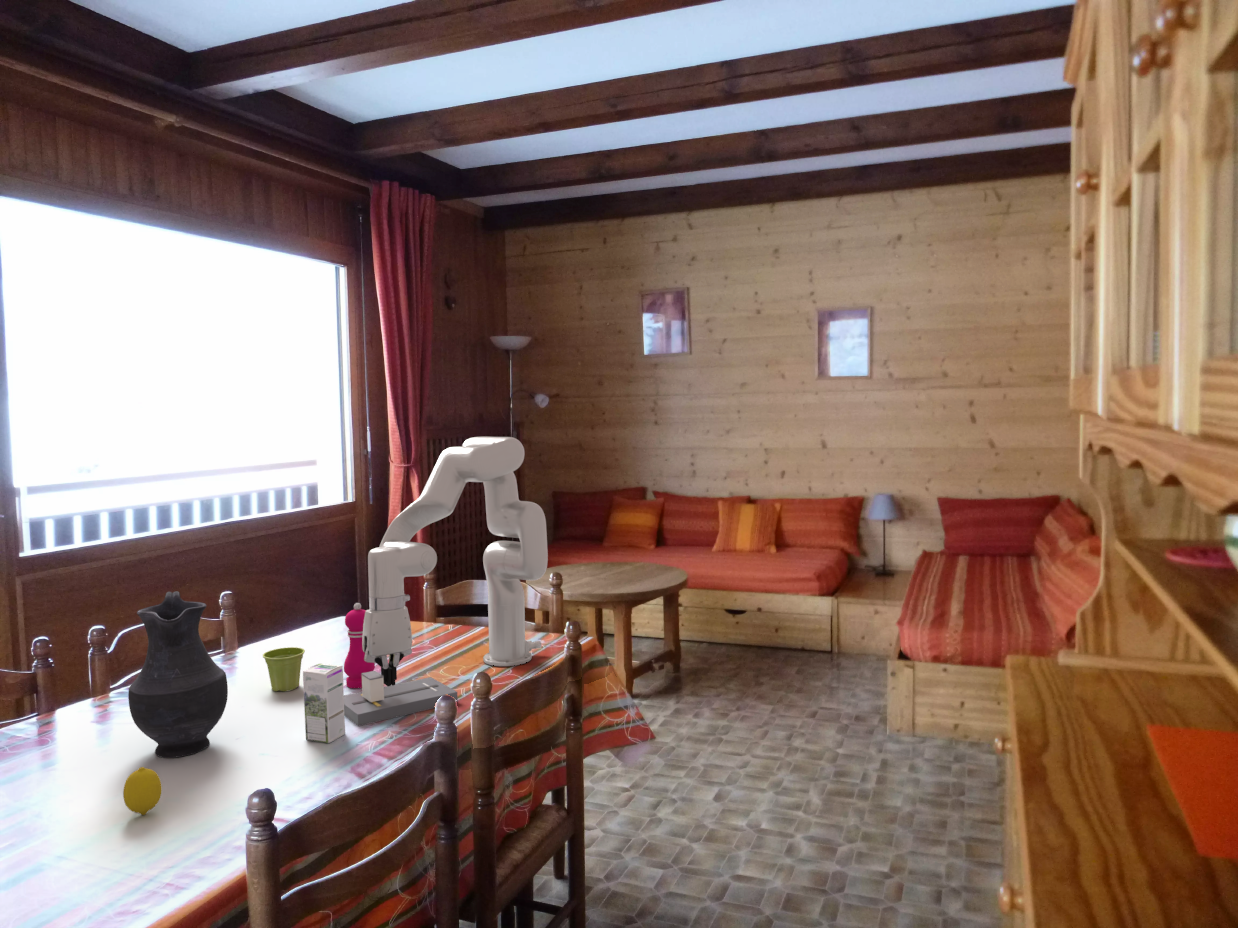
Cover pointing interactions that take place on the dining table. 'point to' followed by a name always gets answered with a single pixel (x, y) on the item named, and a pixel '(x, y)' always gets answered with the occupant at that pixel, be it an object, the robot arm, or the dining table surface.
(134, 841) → the dining table surface
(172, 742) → the pitcher
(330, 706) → the syrup box
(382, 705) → the console
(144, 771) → the lemon
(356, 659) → the pepper mill
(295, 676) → the plant pot
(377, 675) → the block
